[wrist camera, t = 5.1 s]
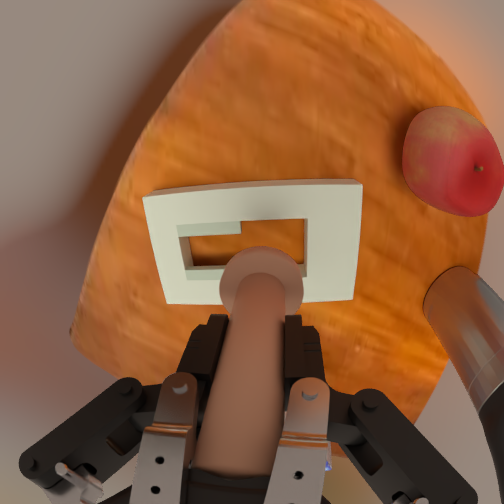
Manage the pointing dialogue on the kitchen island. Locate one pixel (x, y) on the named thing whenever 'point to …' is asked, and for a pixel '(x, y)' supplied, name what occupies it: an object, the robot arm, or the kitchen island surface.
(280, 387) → the headed peg
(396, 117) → the kitchen island surface
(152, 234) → the keyhole board
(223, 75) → the kitchen island surface
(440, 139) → the apple
